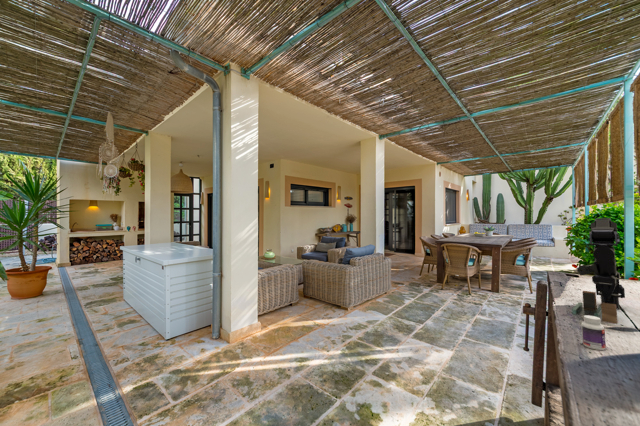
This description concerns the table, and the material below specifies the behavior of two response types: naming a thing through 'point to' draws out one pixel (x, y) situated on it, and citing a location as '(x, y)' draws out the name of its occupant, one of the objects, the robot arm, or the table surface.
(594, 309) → the mounted finger
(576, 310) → the rail
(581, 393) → the table surface
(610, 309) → the block
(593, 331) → the pill bottle
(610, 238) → the robot arm
